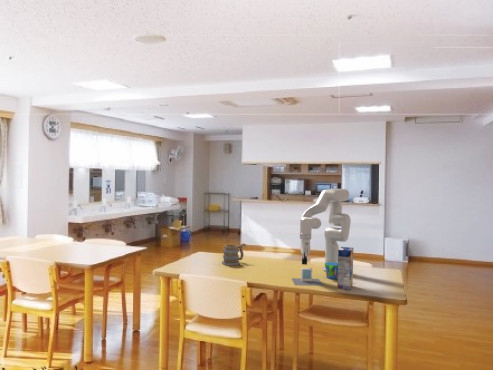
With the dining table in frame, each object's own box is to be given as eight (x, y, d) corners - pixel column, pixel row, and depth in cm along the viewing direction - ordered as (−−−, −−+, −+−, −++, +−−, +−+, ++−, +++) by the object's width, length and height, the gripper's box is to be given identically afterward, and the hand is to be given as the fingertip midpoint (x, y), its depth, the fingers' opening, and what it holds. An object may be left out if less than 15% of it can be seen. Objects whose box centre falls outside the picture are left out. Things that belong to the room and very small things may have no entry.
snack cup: (328, 275, 277) (328, 260, 277) (343, 277, 272) (343, 262, 272) (321, 280, 264) (321, 264, 263) (336, 282, 259) (337, 266, 258)
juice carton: (340, 284, 254) (341, 246, 254) (352, 285, 251) (353, 247, 251) (337, 288, 243) (338, 249, 242) (349, 290, 240) (350, 250, 240)
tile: (311, 280, 260) (311, 268, 260) (312, 281, 258) (312, 268, 257) (300, 280, 260) (301, 267, 259) (301, 281, 257) (301, 268, 257)
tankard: (227, 266, 299) (227, 246, 299) (219, 262, 310) (220, 243, 310) (250, 263, 309) (250, 244, 309) (242, 260, 320) (242, 242, 320)
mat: (318, 279, 264) (318, 278, 264) (323, 286, 247) (323, 285, 247) (291, 279, 264) (291, 278, 264) (294, 286, 247) (294, 285, 247)
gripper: (313, 238, 258) (312, 266, 258) (309, 235, 273) (308, 262, 273) (301, 238, 257) (300, 266, 257) (298, 235, 272) (297, 262, 272)
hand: (304, 264), depth 265 cm, fingers closed
